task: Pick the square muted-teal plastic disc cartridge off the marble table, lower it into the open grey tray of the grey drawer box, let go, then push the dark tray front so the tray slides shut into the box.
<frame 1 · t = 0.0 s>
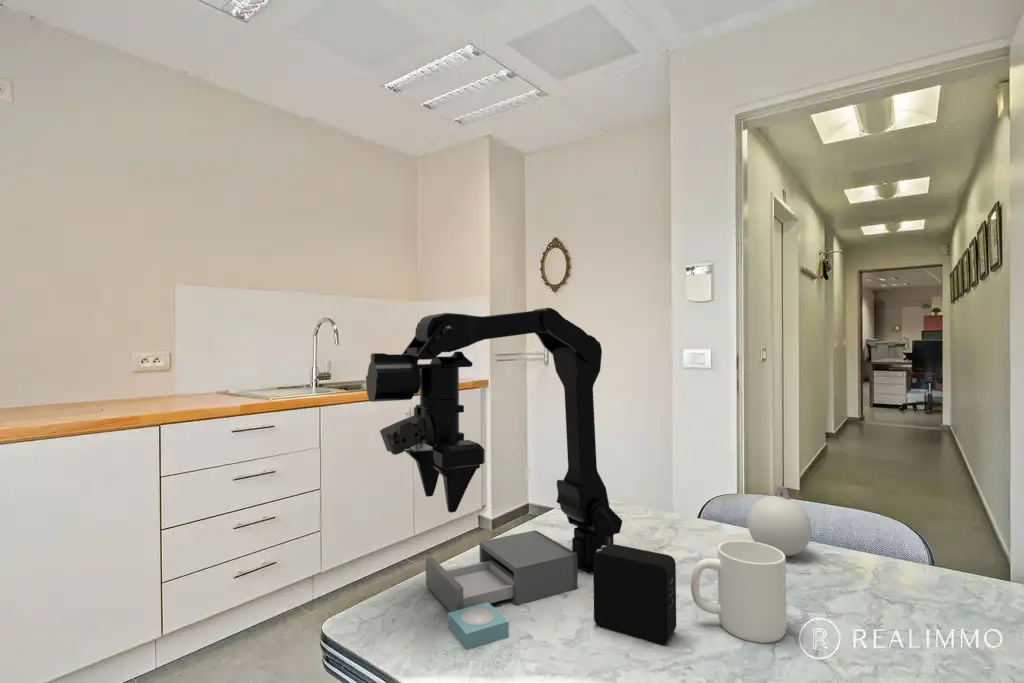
hand: (440, 503, 79), 15 cm above the table, fingers open, 9 cm apart
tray: (474, 578, 81), point 2 cm above the table, slide at 8.0 cm
electronic device: (634, 630, 71), on the table
grey drawer box: (524, 581, 86), on the table
ornament: (779, 554, 97), on the table
cartridge: (477, 635, 71), on the table
cup: (737, 628, 72), on the table
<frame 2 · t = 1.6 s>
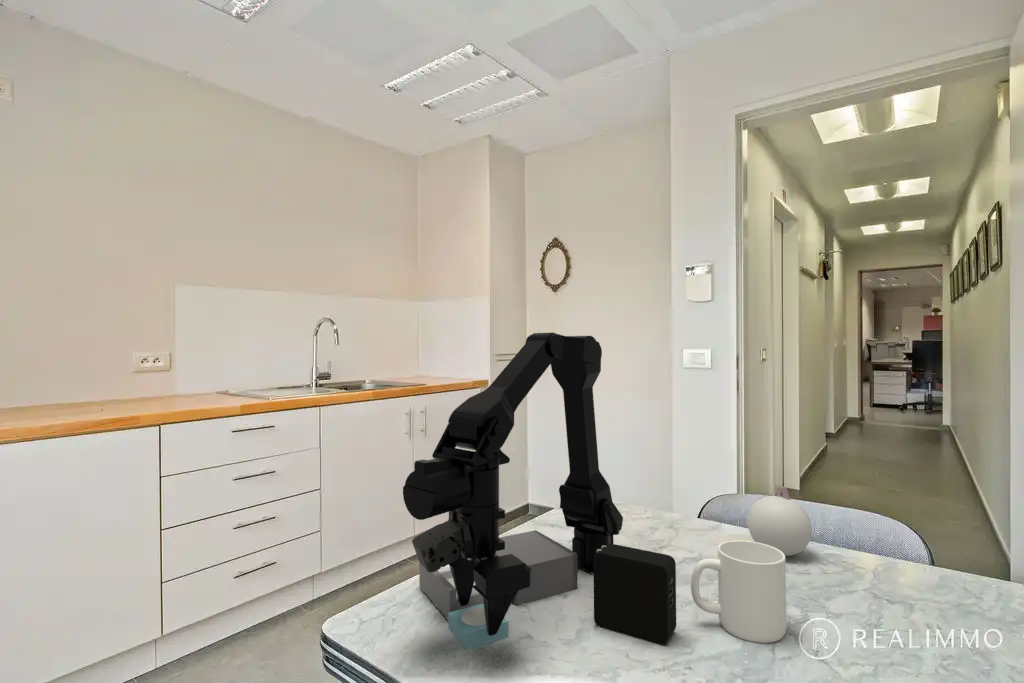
hand: (477, 619, 71), 2 cm above the table, fingers open, 8 cm apart
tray: (468, 580, 81), point 2 cm above the table, slide at 9.1 cm, touching gripper
everything else where it was.
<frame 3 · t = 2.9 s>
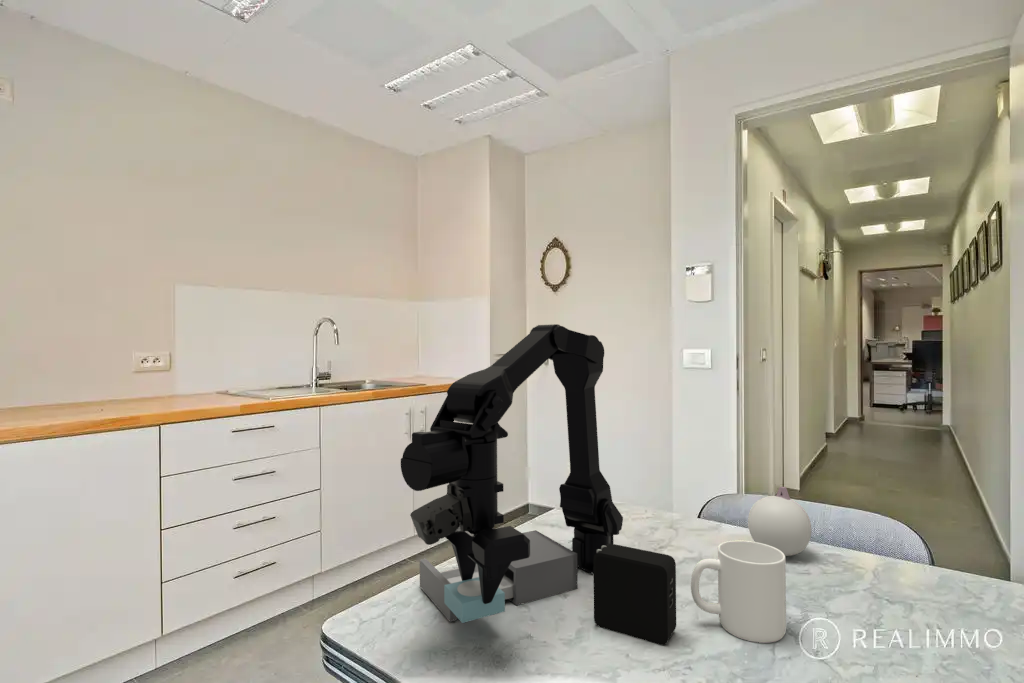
hand: (476, 592, 71), 5 cm above the table, fingers closed on cartridge, 6 cm apart
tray: (468, 580, 81), point 2 cm above the table, slide at 9.0 cm
cartridge: (474, 607, 70), point 3 cm above the table, touching gripper
everything else where it was.
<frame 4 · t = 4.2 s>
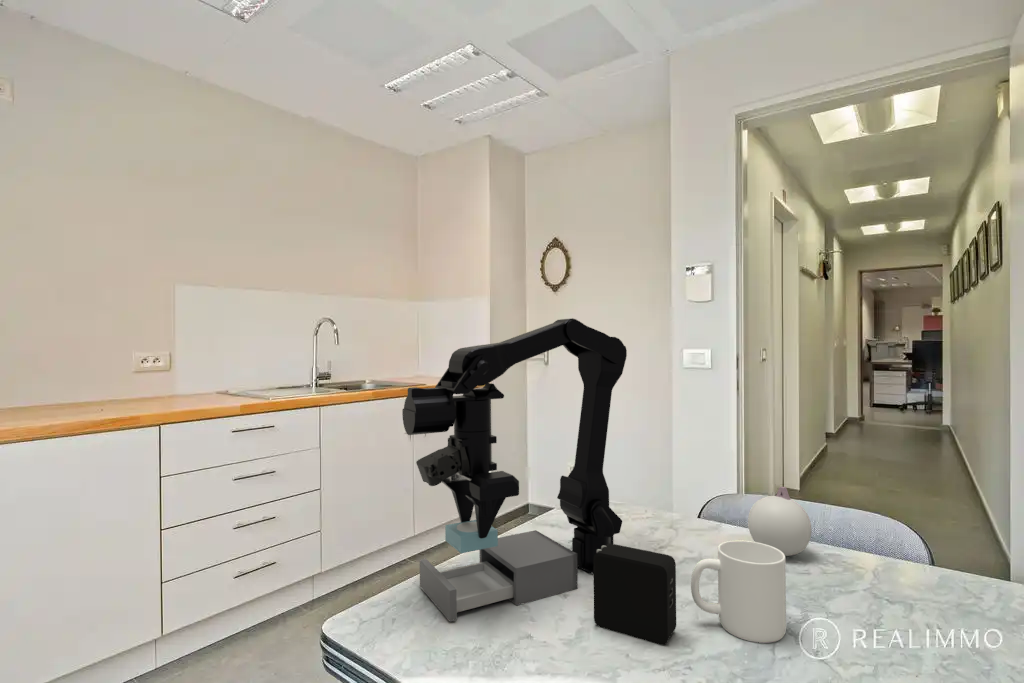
hand: (473, 531, 81), 10 cm above the table, fingers closed on cartridge, 6 cm apart
cartridge: (471, 543, 81), point 8 cm above the table, touching gripper
everything else where it was.
when the fingers open (3 cm above the table, at t = 5.5 s): cartridge stays where it is, resting on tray.
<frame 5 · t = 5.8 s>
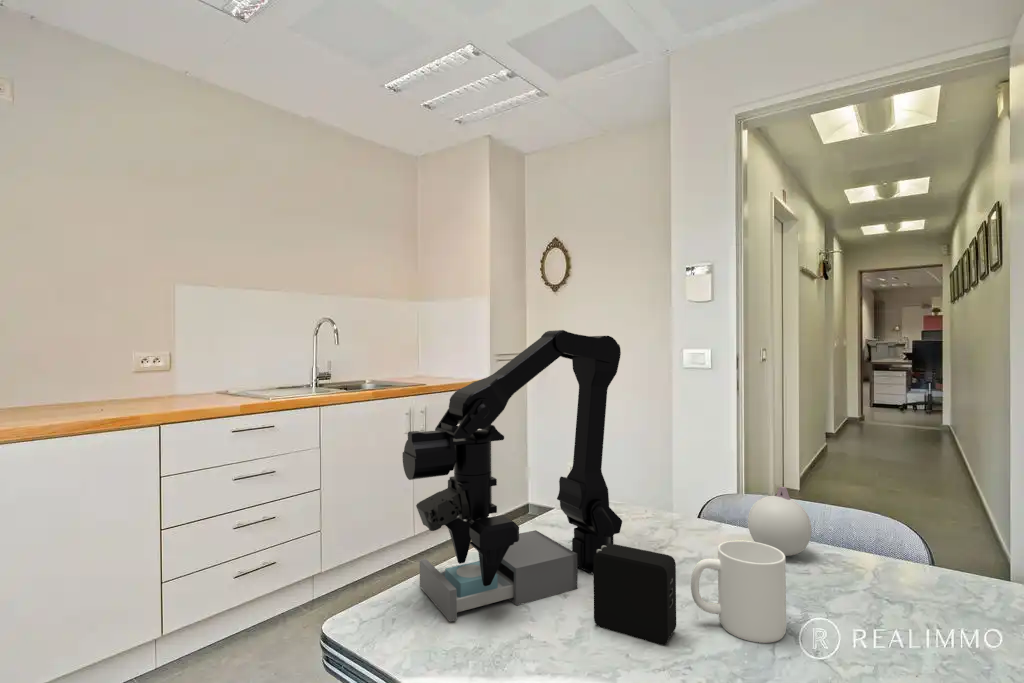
hand: (473, 573, 81), 3 cm above the table, fingers open, 9 cm apart
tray: (468, 580, 81), point 2 cm above the table, slide at 9.0 cm, touching cartridge
cartridge: (471, 587, 81), point 1 cm above the table, touching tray
everything else where it was.
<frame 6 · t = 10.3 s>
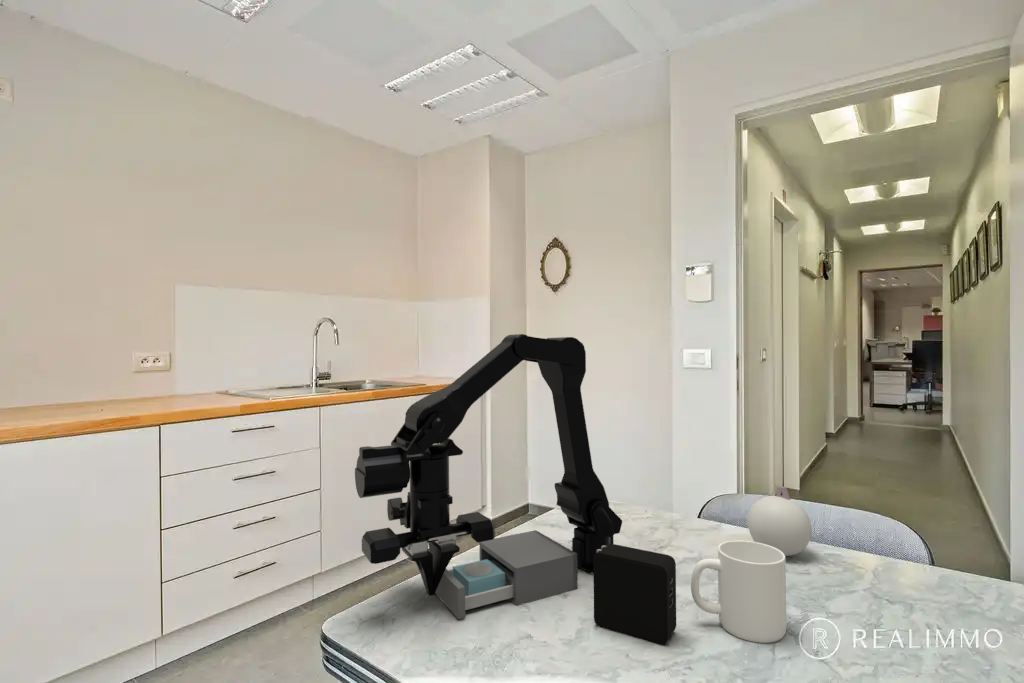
hand: (430, 594, 78), 2 cm above the table, fingers closed
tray: (476, 578, 82), point 2 cm above the table, slide at 7.7 cm, touching cartridge, gripper
cartridge: (478, 585, 82), point 1 cm above the table, touching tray
everything else where it was.
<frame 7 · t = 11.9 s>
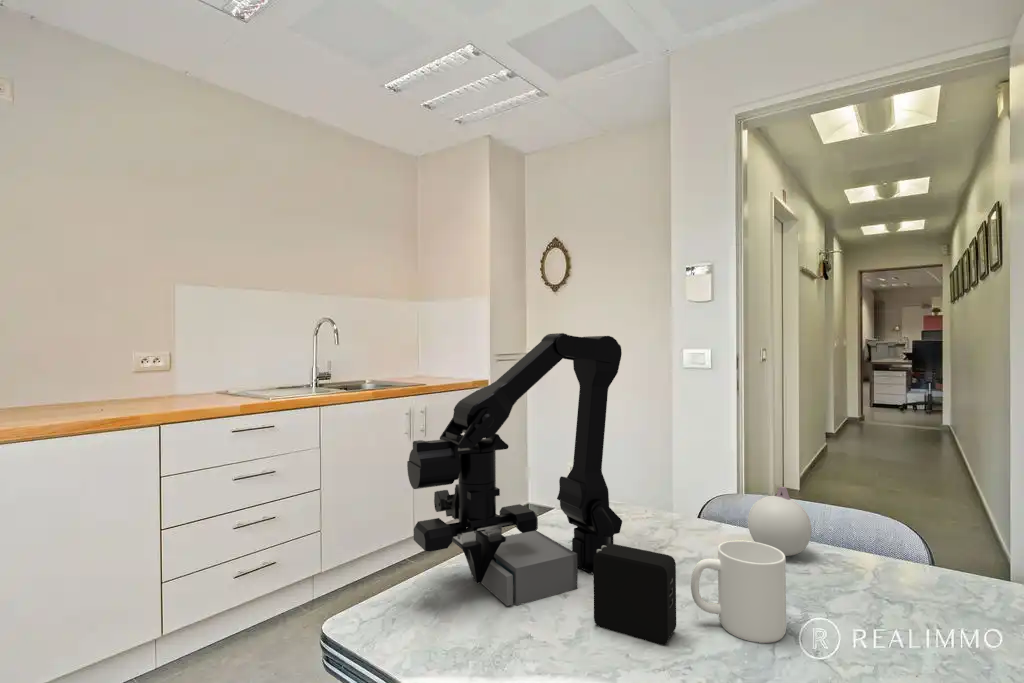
hand: (477, 582, 82), 2 cm above the table, fingers closed
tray: (519, 568, 85), point 2 cm above the table, slide at 0.1 cm, touching cartridge, gripper
cartridge: (521, 574, 85), point 1 cm above the table, touching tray
everything else where it was.
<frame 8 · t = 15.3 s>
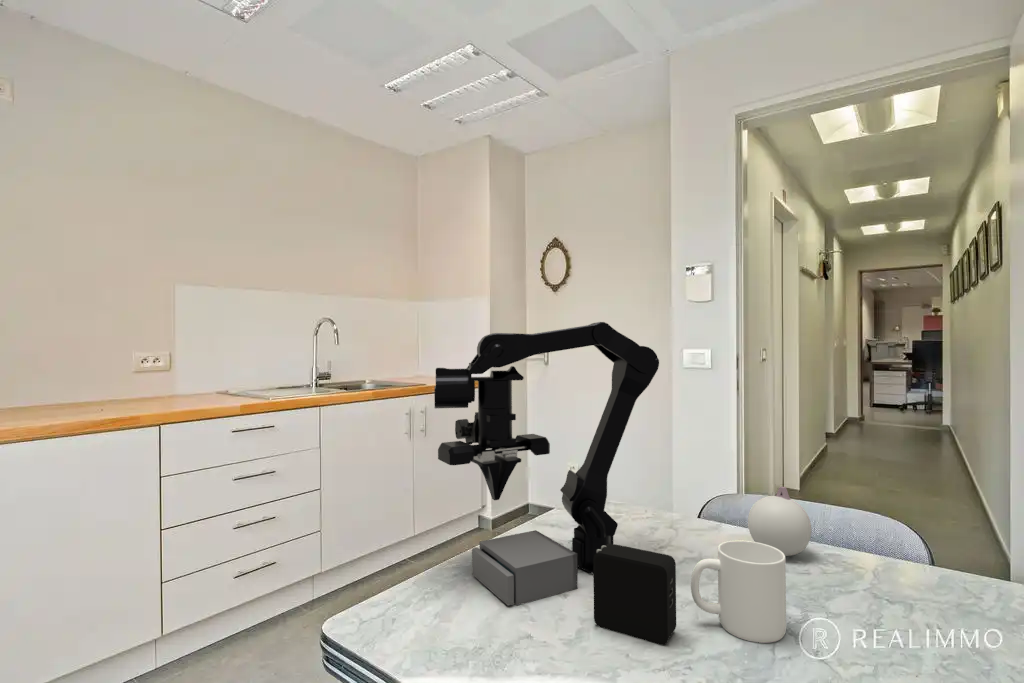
hand: (495, 499, 90), 12 cm above the table, fingers closed
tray: (519, 567, 85), point 2 cm above the table, slide at 0.0 cm, touching cartridge
everything else where it was.
at the end: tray slide at 0.0 cm; cartridge inside the target area on the grey drawer box (0.2 cm from its centre), point 1.2 cm above the grey drawer box's base; the gripper is holding nothing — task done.
